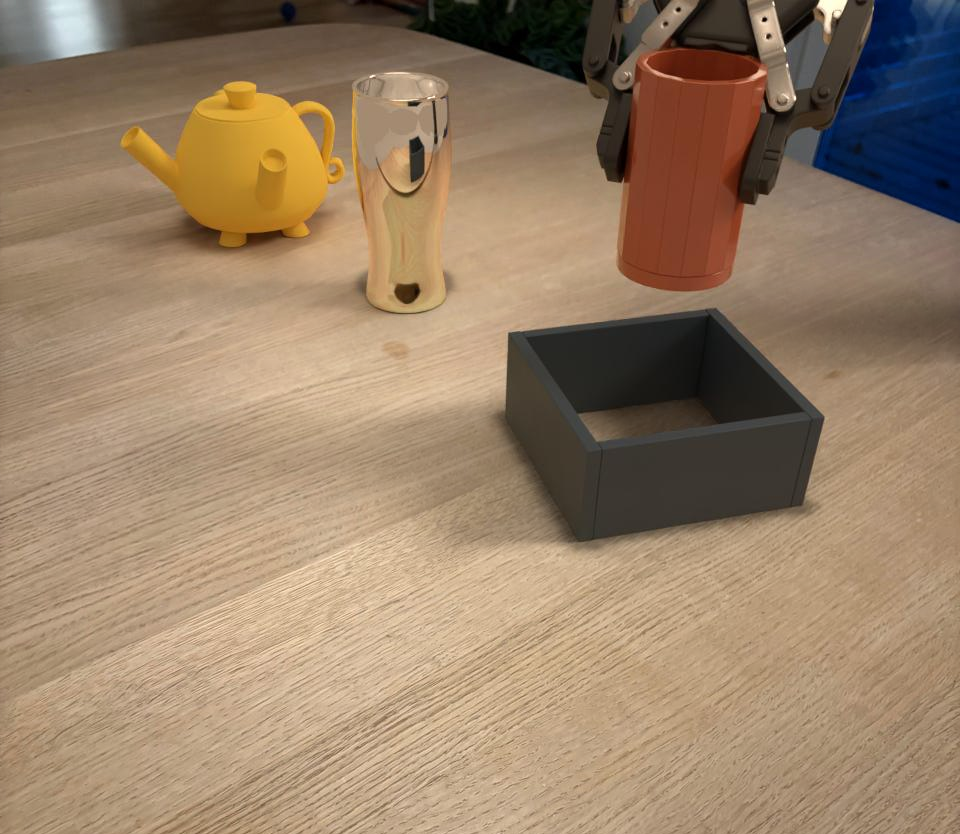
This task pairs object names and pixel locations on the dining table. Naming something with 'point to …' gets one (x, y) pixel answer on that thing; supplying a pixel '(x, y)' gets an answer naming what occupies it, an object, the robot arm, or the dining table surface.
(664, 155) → the tumbler
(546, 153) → the dining table surface
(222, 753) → the dining table surface
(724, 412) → the open box
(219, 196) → the teapot
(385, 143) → the beer glass
